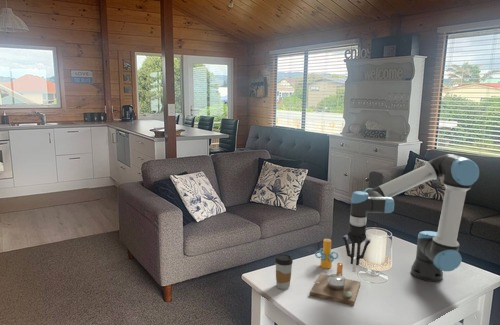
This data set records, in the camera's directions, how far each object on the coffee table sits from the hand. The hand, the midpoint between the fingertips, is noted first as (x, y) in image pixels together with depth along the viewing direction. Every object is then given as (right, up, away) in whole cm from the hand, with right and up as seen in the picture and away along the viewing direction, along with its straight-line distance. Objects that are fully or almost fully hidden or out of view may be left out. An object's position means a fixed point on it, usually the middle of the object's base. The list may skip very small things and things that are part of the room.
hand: (354, 270), depth 187 cm
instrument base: (-10, -9, -3) cm, 13 cm away
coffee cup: (-34, -8, 0) cm, 35 cm away
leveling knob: (-9, -6, -1) cm, 10 cm away
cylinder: (-9, -4, +23) cm, 25 cm away
